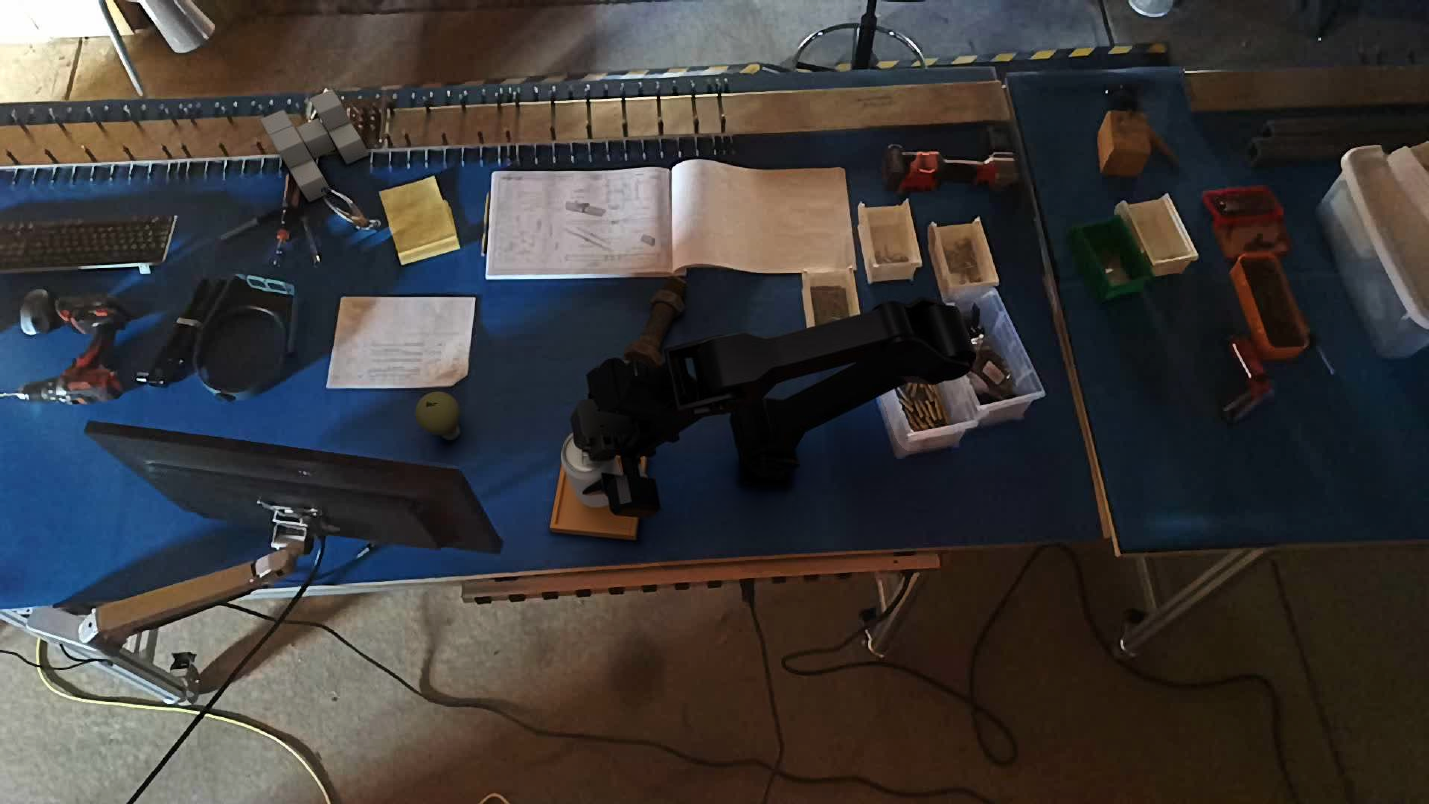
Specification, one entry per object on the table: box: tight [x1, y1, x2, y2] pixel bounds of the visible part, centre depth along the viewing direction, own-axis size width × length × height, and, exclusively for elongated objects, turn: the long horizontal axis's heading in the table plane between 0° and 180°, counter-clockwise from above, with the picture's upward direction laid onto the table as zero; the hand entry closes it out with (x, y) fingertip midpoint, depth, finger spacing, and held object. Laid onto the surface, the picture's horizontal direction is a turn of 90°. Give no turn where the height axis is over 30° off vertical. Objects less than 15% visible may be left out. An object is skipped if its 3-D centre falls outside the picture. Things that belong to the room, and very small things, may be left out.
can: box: [560, 432, 621, 507], centre depth 106 cm, size 6×6×12 cm
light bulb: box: [414, 391, 461, 441], centre depth 115 cm, size 6×6×10 cm
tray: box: [549, 455, 648, 541], centre depth 115 cm, size 11×11×2 cm
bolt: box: [623, 275, 688, 367], centre depth 125 cm, size 6×5×15 cm
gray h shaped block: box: [260, 89, 369, 203], centre depth 137 cm, size 12×12×8 cm
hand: (581, 468), depth 106 cm, fingers closed on can, 6 cm apart
